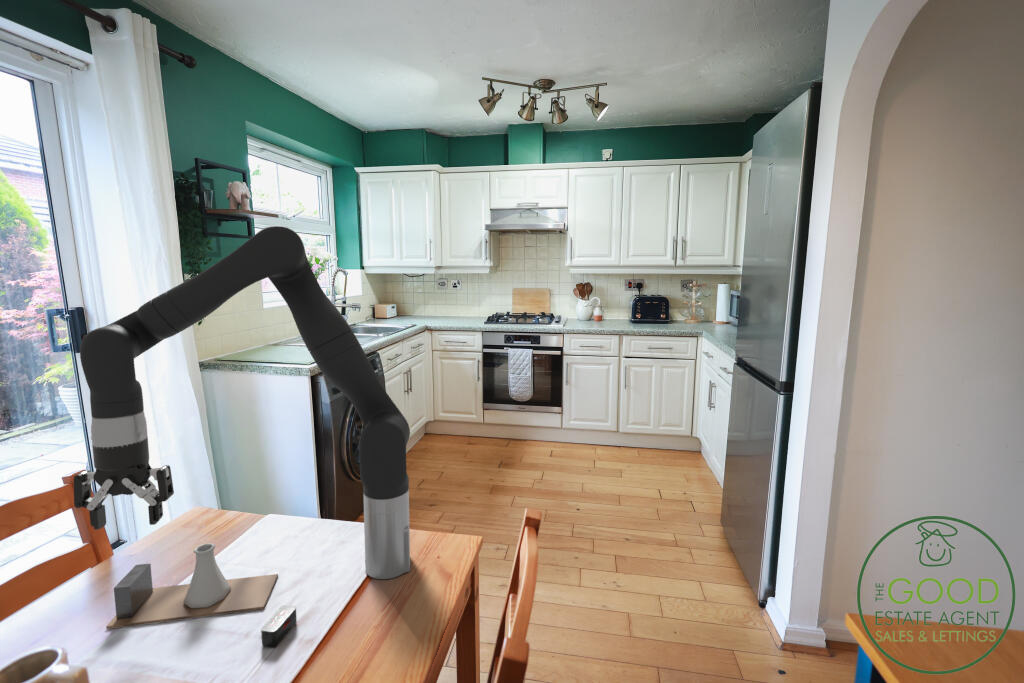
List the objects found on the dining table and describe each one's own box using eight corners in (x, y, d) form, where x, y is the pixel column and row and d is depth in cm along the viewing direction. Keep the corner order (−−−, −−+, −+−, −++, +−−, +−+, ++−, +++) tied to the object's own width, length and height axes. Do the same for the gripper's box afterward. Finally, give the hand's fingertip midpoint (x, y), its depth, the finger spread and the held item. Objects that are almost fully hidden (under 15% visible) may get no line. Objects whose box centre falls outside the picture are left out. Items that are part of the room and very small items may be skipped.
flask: (208, 612, 85) (204, 561, 84) (174, 606, 86) (170, 555, 85) (238, 587, 92) (236, 539, 91) (207, 582, 93) (204, 535, 92)
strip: (278, 576, 96) (276, 546, 96) (263, 608, 87) (262, 576, 86) (138, 592, 91) (135, 560, 90) (106, 629, 81) (103, 594, 80)
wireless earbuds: (300, 620, 84) (300, 603, 84) (275, 650, 77) (274, 632, 77) (277, 617, 85) (276, 600, 85) (250, 647, 78) (249, 629, 78)
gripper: (176, 429, 88) (182, 511, 90) (87, 433, 85) (95, 518, 87) (155, 443, 80) (162, 532, 82) (57, 447, 77) (66, 540, 79)
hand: (127, 525), depth 84 cm, fingers open, 8 cm apart
